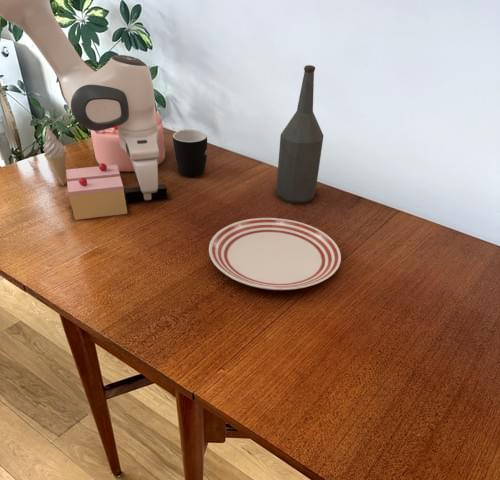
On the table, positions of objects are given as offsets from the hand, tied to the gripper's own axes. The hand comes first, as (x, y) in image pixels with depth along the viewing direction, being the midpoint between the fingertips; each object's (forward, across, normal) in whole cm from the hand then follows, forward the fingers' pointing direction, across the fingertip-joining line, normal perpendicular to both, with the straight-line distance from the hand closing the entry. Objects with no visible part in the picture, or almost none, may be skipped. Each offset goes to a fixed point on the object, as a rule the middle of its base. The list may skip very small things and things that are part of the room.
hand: (146, 194), depth 115 cm
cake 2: (+2, -26, 0) cm, 26 cm away
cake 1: (+2, 0, -12) cm, 12 cm away
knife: (+2, 0, -6) cm, 7 cm away
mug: (+2, -14, +14) cm, 20 cm away
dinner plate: (+2, +34, +22) cm, 40 cm away
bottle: (+2, +7, +38) cm, 38 cm away
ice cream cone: (+2, -13, -20) cm, 23 cm away
